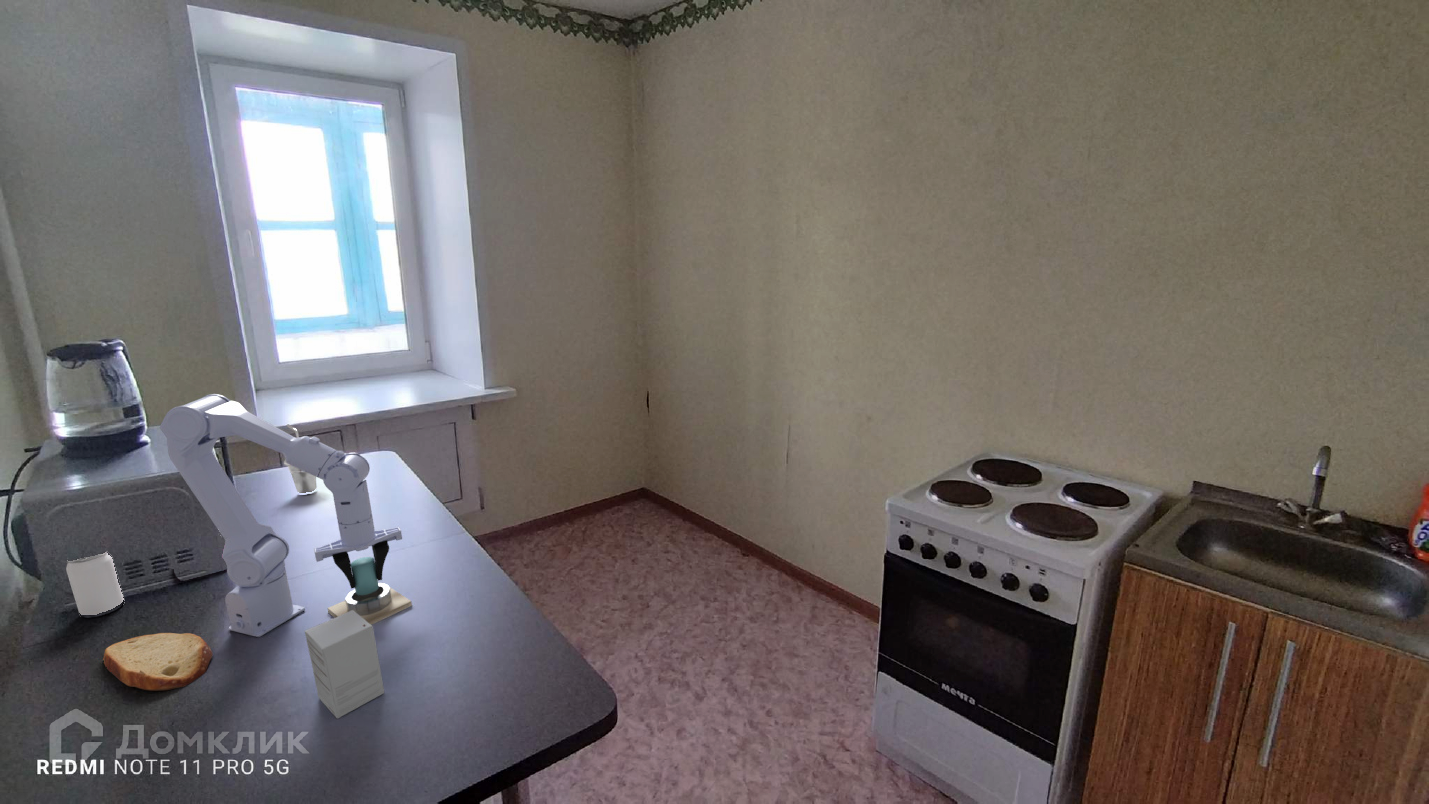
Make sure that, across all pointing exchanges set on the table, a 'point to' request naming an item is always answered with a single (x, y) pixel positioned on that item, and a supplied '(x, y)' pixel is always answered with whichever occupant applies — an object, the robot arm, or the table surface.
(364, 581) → the teal cylinder
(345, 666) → the supplement box
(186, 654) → the slice of bread
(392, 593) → the dock plate
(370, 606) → the socket collar
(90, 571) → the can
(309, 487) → the cup with straw
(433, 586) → the table surface
